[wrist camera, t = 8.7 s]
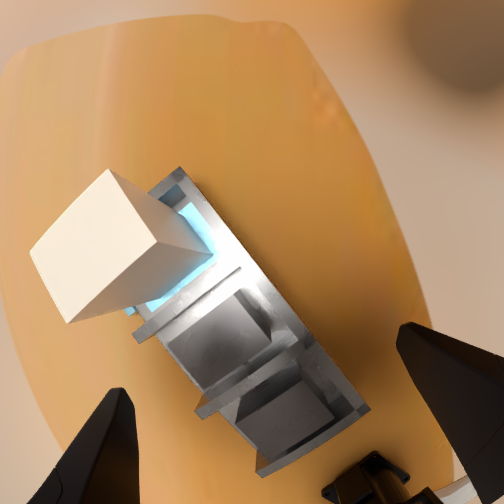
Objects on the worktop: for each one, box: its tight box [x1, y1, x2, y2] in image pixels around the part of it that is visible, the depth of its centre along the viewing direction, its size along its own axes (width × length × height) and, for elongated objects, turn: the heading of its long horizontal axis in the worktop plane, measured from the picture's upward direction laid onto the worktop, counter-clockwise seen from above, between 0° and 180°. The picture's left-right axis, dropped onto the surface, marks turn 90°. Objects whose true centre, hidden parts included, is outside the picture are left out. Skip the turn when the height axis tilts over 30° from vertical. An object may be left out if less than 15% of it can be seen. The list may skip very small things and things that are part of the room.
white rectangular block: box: [29, 168, 213, 324], centre depth 15 cm, size 4×5×11 cm
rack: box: [124, 167, 371, 478], centre depth 19 cm, size 20×10×5 cm, turn 38°
